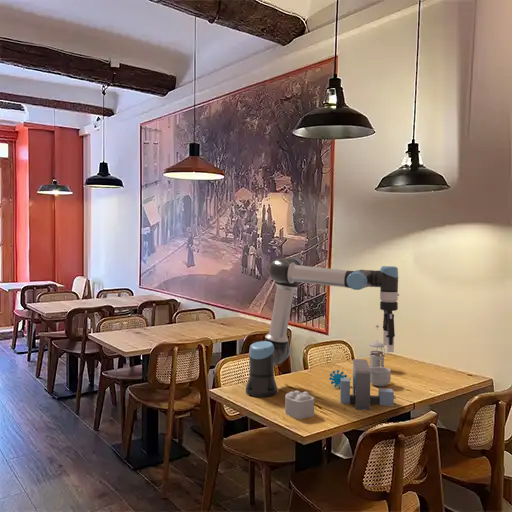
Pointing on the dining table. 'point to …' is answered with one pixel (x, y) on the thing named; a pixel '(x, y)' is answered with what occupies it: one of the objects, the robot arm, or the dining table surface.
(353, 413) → the dining table surface
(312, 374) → the dining table surface
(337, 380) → the blue spiked virus model
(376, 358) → the french press
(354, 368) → the block
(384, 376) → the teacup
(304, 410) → the lumpy-topped squat cylinder
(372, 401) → the blue-grey u-shaped block
